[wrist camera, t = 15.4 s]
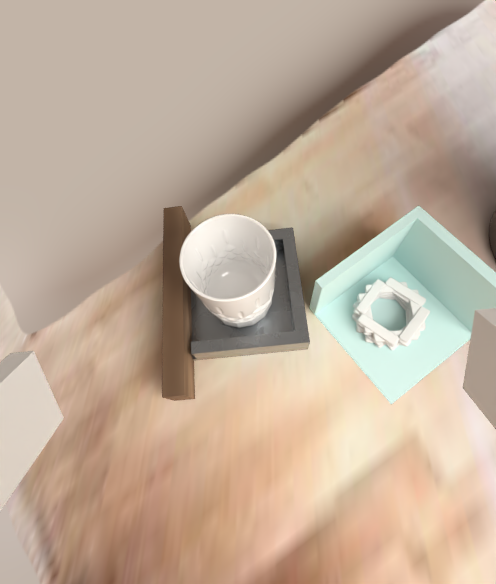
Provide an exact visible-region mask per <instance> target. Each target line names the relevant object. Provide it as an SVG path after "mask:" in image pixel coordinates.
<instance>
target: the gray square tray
mask: <svg viewBox="0 0 496 584" xmlns="http://www.w3.org/2000/svg"><path fill="white" fill-rule="evenodd" d="M268 231H269V233H270V234H271V236H272V238H273V240H274V243H275V247H276V270H275V283H274V292H273V296H272V305H271V306H270V308H269V310H268V312H267V314H266V316H265V317H264V318H262V319H261V320H260V321H258V322H257V323H256V324H254V325H252V326H247V327H242V328H237V327H233V326H229V325H225V324H224V323H223V322H221V321H220V320H219V319H218V318H217V317H216V316H214V315H213V314H212V313H211V312H210V311H209V310H208V308H207V307H206V306H205V305H204V304H203V303H202V302H201V300H200V299H199V298H198V297H197V295H196V294H195V293H194V292H193V291H192V289H191V317H192V342H191V354H192V359H193V360H203V359H213V358H223V357H233V356H243V355H254V354H264V353H274V352H284V351H294V350H304V349H308V346H309V343H310V340H309V333H308V327H307V320H306V313H305V306H304V300H303V293H302V286H301V279H300V273H299V266H298V259H297V253H296V246H295V239H294V232H293V228H285V229H276V230H268Z"/></svg>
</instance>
